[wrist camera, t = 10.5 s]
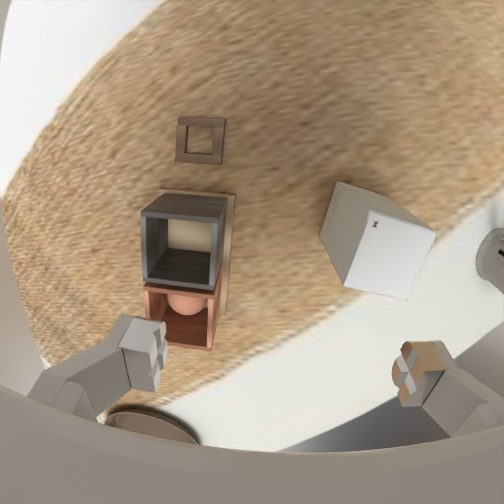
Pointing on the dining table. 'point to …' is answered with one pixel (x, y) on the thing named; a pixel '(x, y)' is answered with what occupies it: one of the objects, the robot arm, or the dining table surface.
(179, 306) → the ball
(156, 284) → the stacked cubby shelf
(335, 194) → the supplement box
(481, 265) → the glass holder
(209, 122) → the ball stand
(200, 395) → the dining table surface
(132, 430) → the plant saucer
